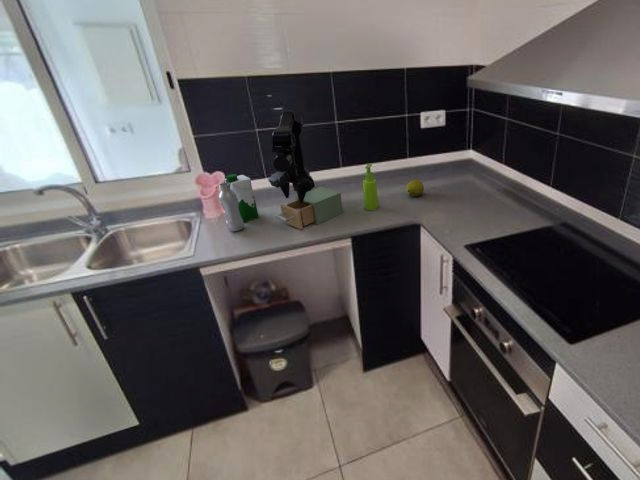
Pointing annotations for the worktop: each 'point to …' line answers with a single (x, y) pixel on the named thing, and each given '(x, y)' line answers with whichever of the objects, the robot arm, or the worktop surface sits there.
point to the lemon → (415, 188)
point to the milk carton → (243, 196)
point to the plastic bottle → (230, 207)
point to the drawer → (297, 213)
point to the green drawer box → (324, 203)
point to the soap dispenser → (370, 190)
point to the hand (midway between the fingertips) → (294, 200)
